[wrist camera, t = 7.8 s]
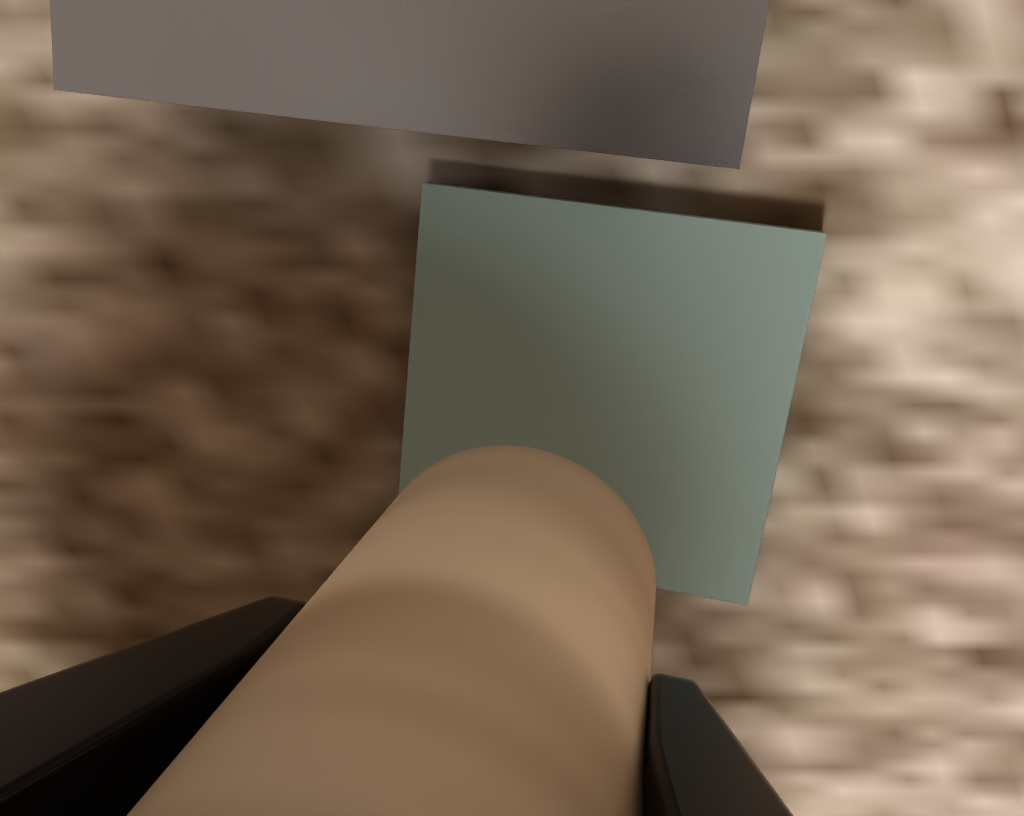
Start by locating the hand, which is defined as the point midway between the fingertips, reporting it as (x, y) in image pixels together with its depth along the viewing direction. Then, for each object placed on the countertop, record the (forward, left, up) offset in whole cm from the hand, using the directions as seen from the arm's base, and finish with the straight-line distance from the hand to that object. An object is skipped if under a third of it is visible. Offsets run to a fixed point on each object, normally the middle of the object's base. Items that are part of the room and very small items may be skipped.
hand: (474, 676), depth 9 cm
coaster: (0, 0, -11) cm, 11 cm away
